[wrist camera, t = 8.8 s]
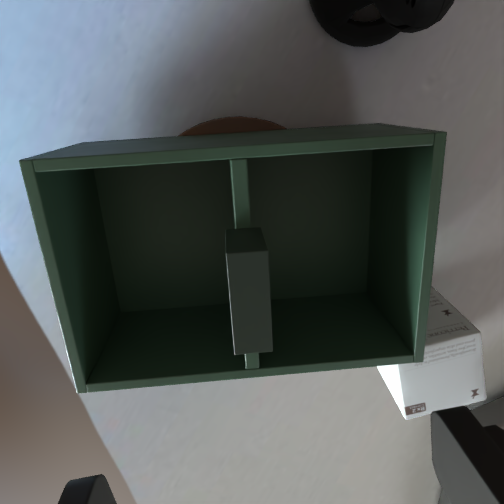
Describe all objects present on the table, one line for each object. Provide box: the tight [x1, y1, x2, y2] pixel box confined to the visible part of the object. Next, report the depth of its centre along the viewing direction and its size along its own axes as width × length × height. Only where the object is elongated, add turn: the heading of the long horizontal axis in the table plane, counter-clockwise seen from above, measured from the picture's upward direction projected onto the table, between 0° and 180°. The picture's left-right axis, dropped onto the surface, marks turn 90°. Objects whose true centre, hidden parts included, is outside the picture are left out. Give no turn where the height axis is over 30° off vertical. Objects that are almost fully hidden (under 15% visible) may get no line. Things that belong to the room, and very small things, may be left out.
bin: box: [19, 123, 447, 393], centre depth 24 cm, size 20×13×12 cm, turn 93°
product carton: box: [377, 287, 487, 420], centre depth 31 cm, size 6×6×7 cm
